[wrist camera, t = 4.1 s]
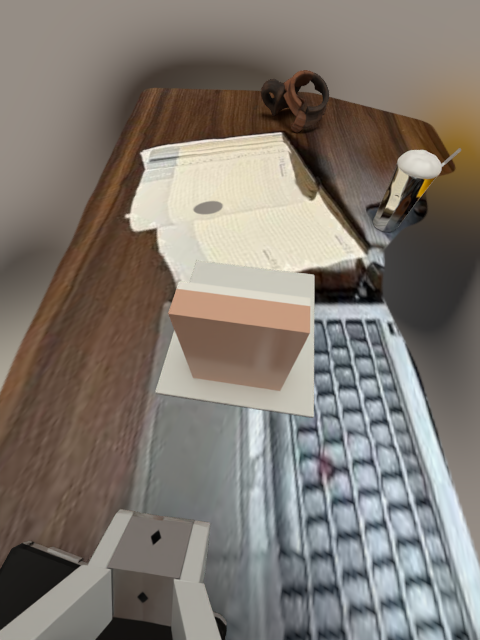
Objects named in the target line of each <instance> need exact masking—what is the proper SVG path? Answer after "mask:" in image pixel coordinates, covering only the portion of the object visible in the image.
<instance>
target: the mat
mask: <svg viewBox="0 0 480 640" xmlns="http://www.w3.org/2000/svg"><path fill="white" fill-rule="evenodd" d="M190 282H191V283H199V284H207V285H214V286H222V287H230V288H237V289H245V290H253V291H261V292H268V293H276V294H284V295H291V296H299V297H307V298H310V334H309V336H308V338H307V340H306V342H305V344H304V346H303V348H302V350H301V352H300V353H299V355H298V357H297V359H296V361H295V363H294V365H293V367H292V369H291V371H290V373H289V375H288V377H287V379H286V381H285V383H284V385H283V387H282V388H281V390H280V391H277V390H270V389H264V388H257V387H250V386H244V385H237V384H230V383H224V382H217V381H210V380H204V379H197V378H193V376H192V374H191V371H190V369H189V366H188V363H187V361H186V358H185V356H184V353H183V350H182V348H181V345H180V343H179V340H178V337H177V335H176V332H175V330H174V334H173V337H172V340H171V343H170V346H169V350H168V353H167V356H166V359H165V362H164V366H163V369H162V372H161V375H160V379H159V382H158V385H157V388H156V391H155V393H156V394H162V395H169V396H175V397H182V398H188V399H195V400H201V401H208V402H214V403H220V404H227V405H233V406H240V407H246V408H253V409H259V410H266V411H272V412H279V413H285V414H292V415H298V416H304V417H311V418H313V417H314V275H311V274H303V273H295V272H287V271H279V270H271V269H263V268H255V267H247V266H239V265H231V264H223V263H215V262H207V261H199V260H196V263H195V266H194V269H193V272H192V276H191V279H190Z"/></svg>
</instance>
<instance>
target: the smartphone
mask: <svg viewBox="0 0 480 640" xmlns="http://www.w3.org/2000/svg"><path fill="white" fill-rule="evenodd" d="M82 559H83V558H81V557H79V556H76V555H74V554H71V553H68V552H66V551H63V550H61V549H58V548H55V547H51V548H47V547H45V546H42V545H39V544H37V543H34V542H32V541H27V542H24V543H21V544H20V545H18V546H16V547H14V548H12V549H11V551H10V553H9V554H8V556H7V558H6V560H5V562H4V564H3V565H2V567H1V569H0V630H2V629H3V628H4V627H5V626H7V625H8V624H9V623H10V622H12V621H13V620H14V619H15V618H17V617H18V616H19V615H20V614H21V613H23V612H24V611H25V610H26V609H28V608H29V607H30V606H31V605H33V604H34V603H35V602H36V601H38V600H39V599H40V598H41V597H43V596H44V595H45V594H46V593H48V592H49V591H50V590H51V589H53V588H54V587H55V586H56V585H58V584H59V583H60V582H61V581H62V580H64V579H65V578H66V577H67V576H69V575H70V574H71V573H72V572H74V571H75V570H76V569H77V568H79V567H80V566H81V565H88V563H86V562H84V561H82ZM213 614H214V617H215V620H216V624H217V627H218V630H219V633H220V637H221V640H225V636H226V629H227V622H226V620H225V619H224V618H223V617H222V616H221V615H220V614H218V613H216V612H213ZM95 640H173V636H172V630H171V626H166V625H161V624H156V623H152V622H147V621H141V620H133V619H125V618H117V617H112V620H111V622H110V623H109V624H108V625H107V626H106V627H105V629H104V630H103V631H102V632H101V633H100V635H99V636H98V637H97V638H96V639H95Z"/></svg>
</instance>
